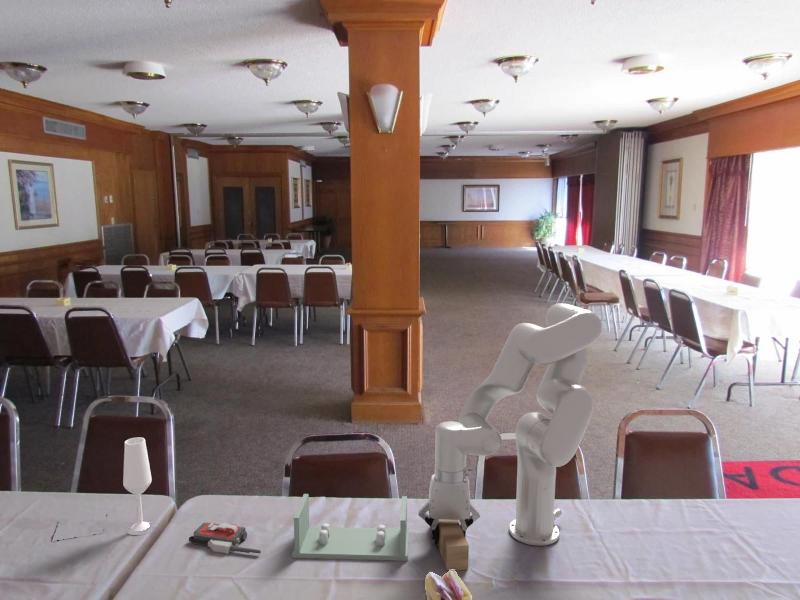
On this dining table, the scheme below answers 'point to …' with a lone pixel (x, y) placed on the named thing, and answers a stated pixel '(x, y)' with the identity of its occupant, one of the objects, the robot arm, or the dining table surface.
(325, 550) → the shelf rack
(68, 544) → the dining table surface
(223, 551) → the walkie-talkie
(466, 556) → the wooden block
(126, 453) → the champagne flute
